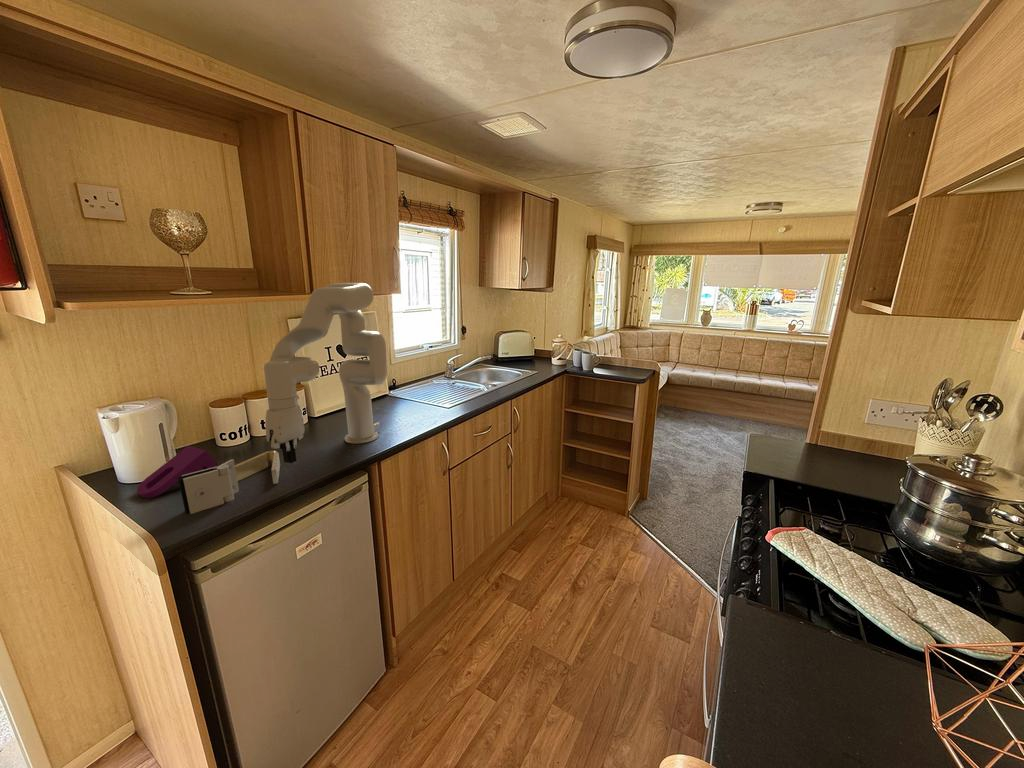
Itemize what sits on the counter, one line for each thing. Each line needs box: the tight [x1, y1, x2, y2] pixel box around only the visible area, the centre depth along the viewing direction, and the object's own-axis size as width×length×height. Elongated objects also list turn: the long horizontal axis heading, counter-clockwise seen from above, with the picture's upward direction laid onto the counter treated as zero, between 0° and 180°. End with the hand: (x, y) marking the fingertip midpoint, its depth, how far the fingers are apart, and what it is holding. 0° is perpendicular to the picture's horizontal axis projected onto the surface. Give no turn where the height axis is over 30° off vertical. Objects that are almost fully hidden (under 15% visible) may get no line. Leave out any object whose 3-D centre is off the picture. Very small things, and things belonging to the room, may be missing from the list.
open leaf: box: [271, 451, 281, 485], centre depth 130 cm, size 15×1×4 cm, turn 27°
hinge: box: [178, 459, 240, 515], centre depth 113 cm, size 14×5×10 cm, turn 149°
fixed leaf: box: [235, 449, 278, 482], centre depth 131 cm, size 18×3×5 cm, turn 162°
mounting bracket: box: [136, 445, 218, 499], centre depth 125 cm, size 10×8×18 cm
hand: (290, 461), depth 123 cm, fingers closed
